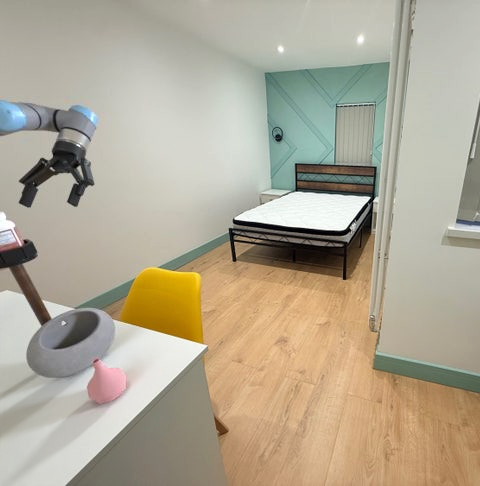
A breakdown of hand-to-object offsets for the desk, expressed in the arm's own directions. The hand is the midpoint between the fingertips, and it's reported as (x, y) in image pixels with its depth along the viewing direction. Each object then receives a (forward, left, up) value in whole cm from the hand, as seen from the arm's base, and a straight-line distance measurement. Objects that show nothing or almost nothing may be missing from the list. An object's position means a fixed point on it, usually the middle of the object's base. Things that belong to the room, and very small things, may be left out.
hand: (48, 205), depth 77 cm
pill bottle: (0, -18, -9) cm, 20 cm away
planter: (+7, -23, -43) cm, 49 cm away
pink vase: (+18, -35, -43) cm, 58 cm away
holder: (-1, -18, -9) cm, 20 cm away
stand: (-1, -18, -43) cm, 46 cm away
